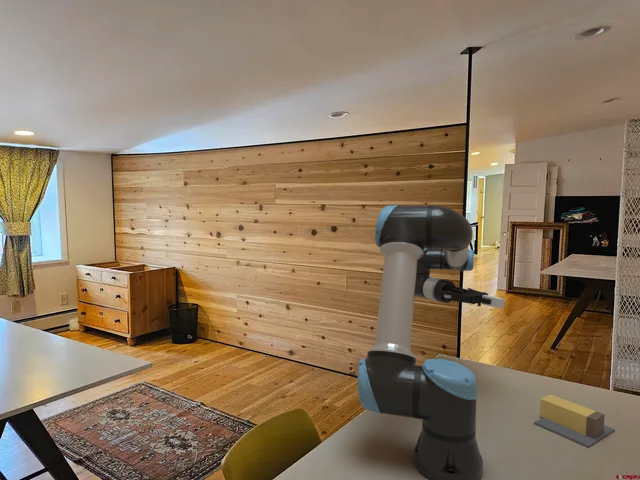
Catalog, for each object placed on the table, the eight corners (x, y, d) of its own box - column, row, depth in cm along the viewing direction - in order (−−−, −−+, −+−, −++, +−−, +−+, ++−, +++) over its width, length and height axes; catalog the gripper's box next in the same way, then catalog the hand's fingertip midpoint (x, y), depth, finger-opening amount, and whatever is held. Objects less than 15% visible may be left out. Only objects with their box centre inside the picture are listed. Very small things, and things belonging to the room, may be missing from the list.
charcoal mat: (588, 447, 105) (588, 445, 105) (533, 423, 116) (533, 422, 116) (614, 431, 113) (614, 429, 113) (561, 410, 124) (561, 408, 124)
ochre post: (539, 416, 120) (594, 438, 108) (540, 398, 119) (595, 419, 108) (549, 411, 122) (603, 433, 111) (550, 394, 122) (604, 414, 110)
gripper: (452, 298, 151) (515, 312, 131) (426, 303, 143) (488, 319, 124) (452, 277, 150) (516, 288, 130) (426, 281, 143) (489, 293, 123)
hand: (502, 303), depth 127 cm, fingers closed
